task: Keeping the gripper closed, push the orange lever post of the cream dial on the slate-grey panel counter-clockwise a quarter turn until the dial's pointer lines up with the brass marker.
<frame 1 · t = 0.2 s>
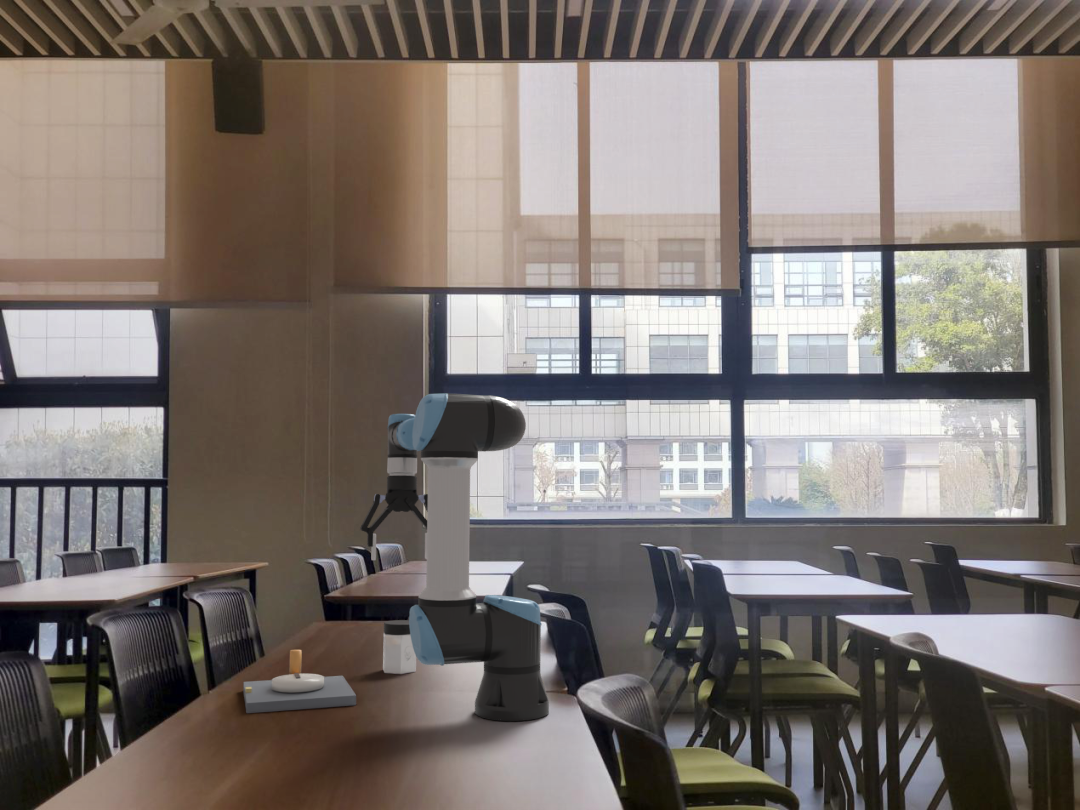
hand: (400, 559, 229), 28 cm above the table, fingers open, 13 cm apart
dial: (297, 670, 201), point 6 cm above the table, hinge at 0.0°
panel: (297, 697, 198), on the table
jar: (399, 671, 229), on the table
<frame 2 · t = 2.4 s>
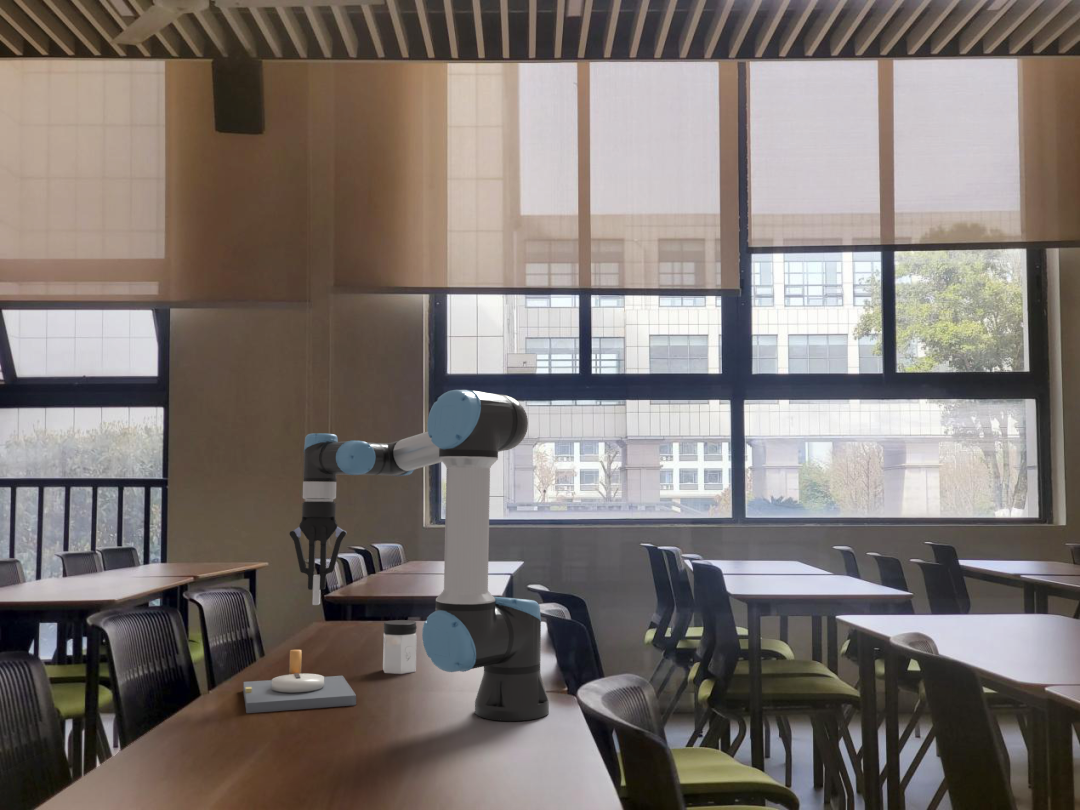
hand: (316, 604, 208), 19 cm above the table, fingers closed
nothing on the table moved.
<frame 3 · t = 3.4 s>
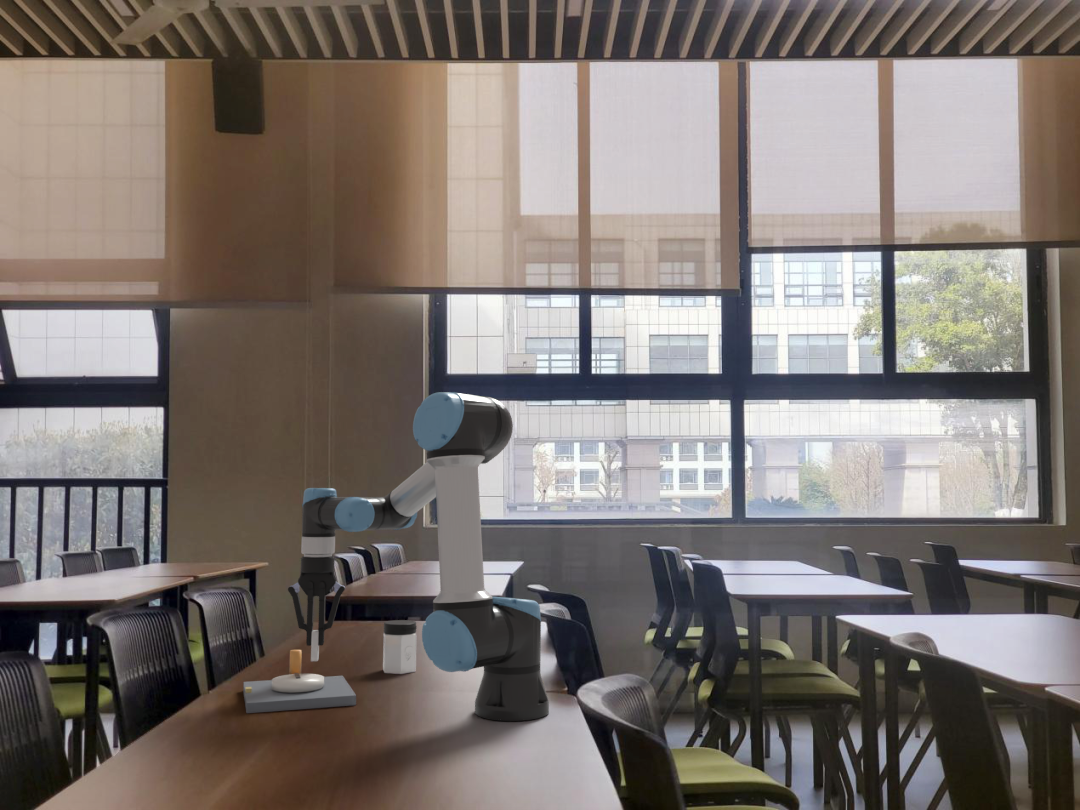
hand: (314, 660, 207), 7 cm above the table, fingers closed
nothing on the table moved.
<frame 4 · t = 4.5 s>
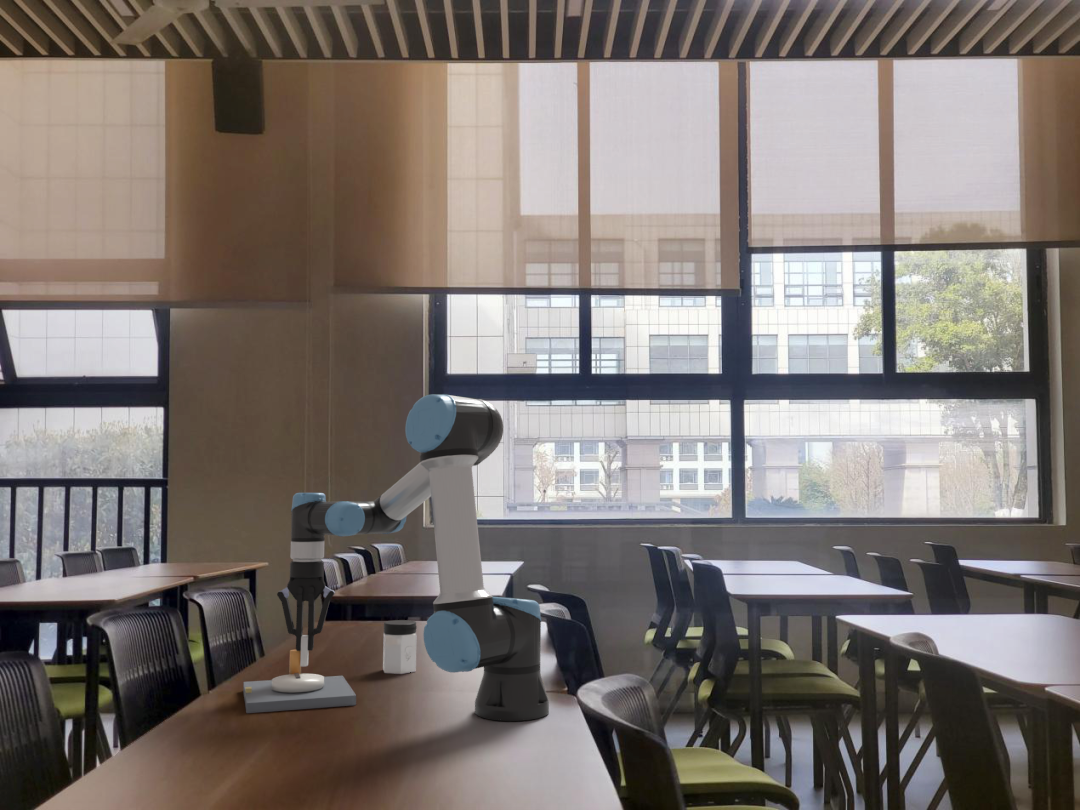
hand: (304, 665, 206), 6 cm above the table, fingers closed
dial: (297, 670, 201), point 6 cm above the table, hinge at 0.2°, touching gripper
everything else where it was.
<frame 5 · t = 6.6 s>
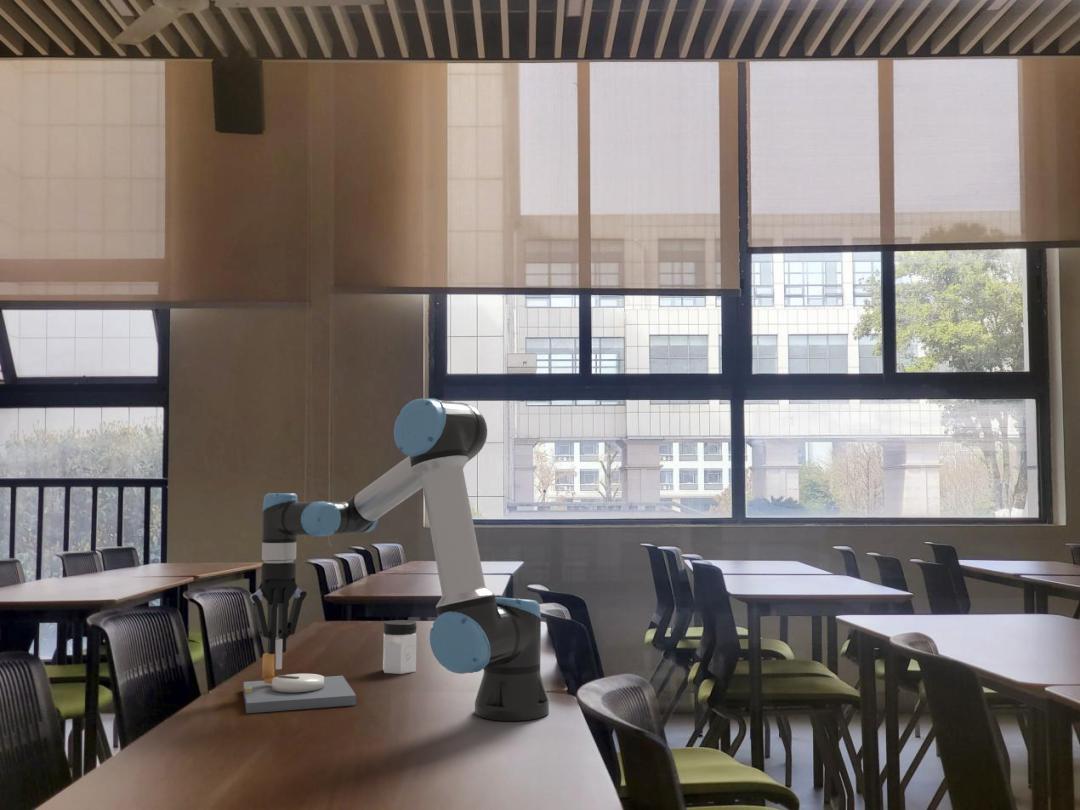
hand: (276, 668, 203), 5 cm above the table, fingers closed
dial: (291, 671, 200), point 6 cm above the table, hinge at 48.9°, touching gripper
everything else where it was.
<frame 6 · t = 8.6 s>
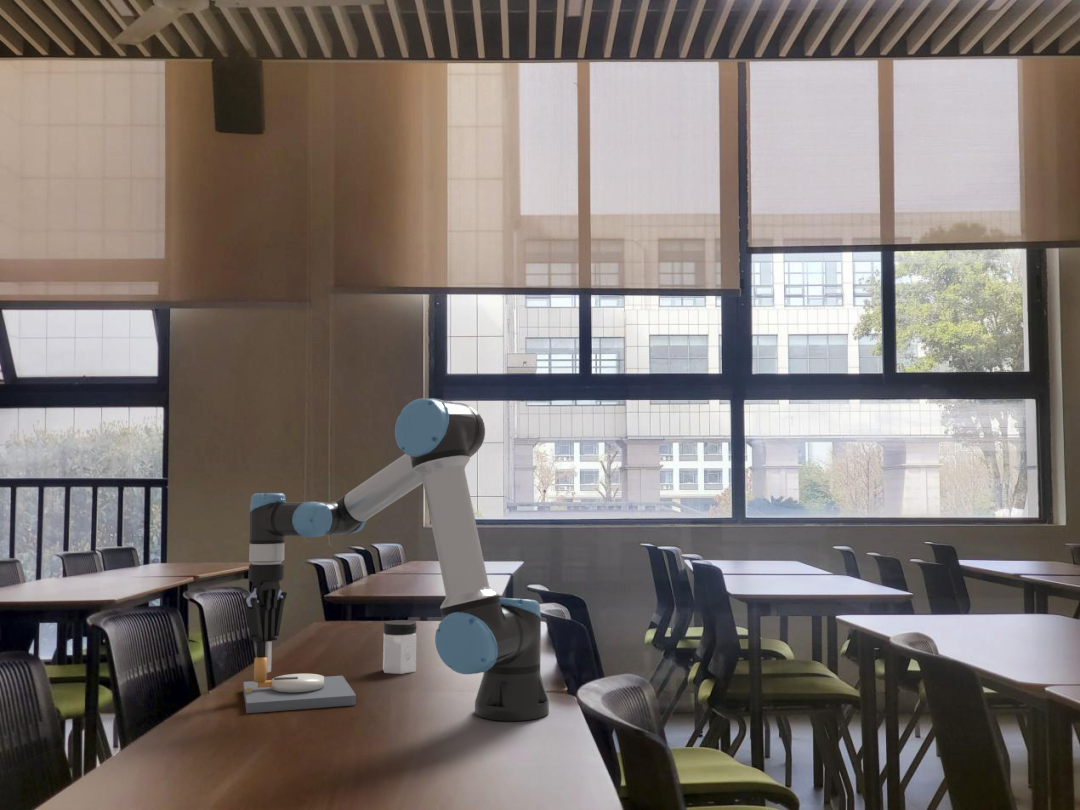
hand: (263, 671, 199), 5 cm above the table, fingers closed
dial: (289, 672, 198), point 6 cm above the table, hinge at 81.3°, touching gripper
everything else where it was.
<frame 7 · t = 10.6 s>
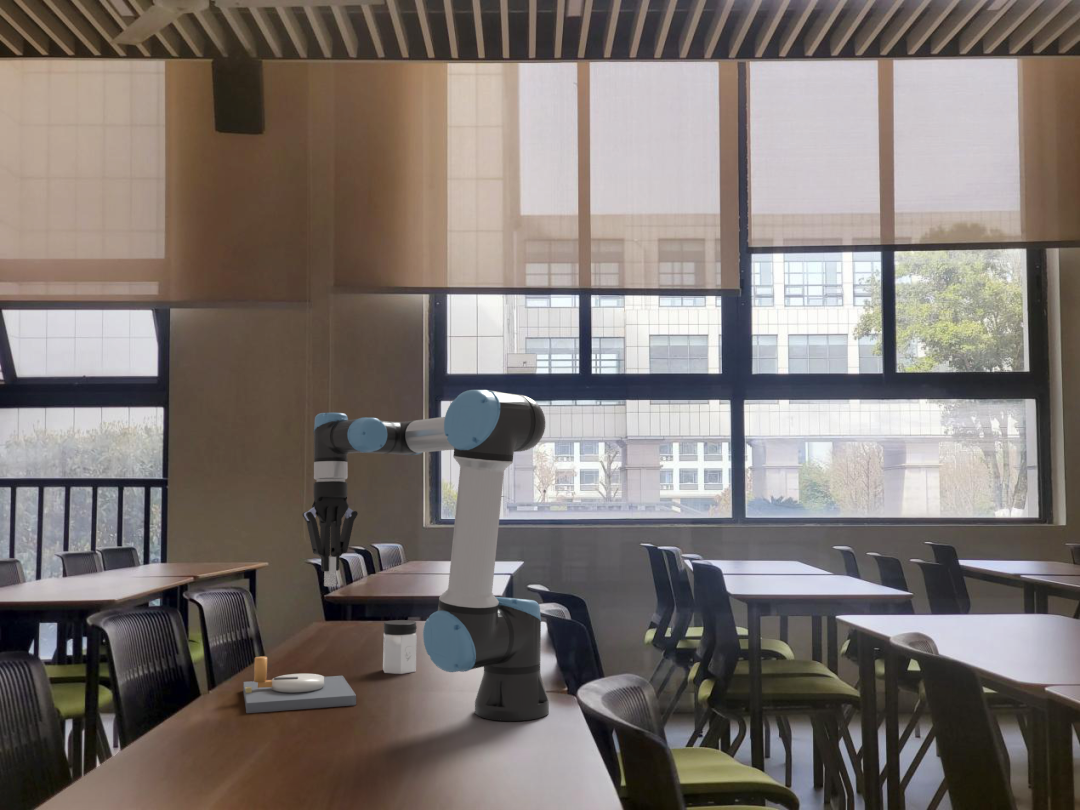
hand: (330, 585, 205), 24 cm above the table, fingers closed
dial: (289, 672, 199), point 6 cm above the table, hinge at 80.3°
everything else where it was.
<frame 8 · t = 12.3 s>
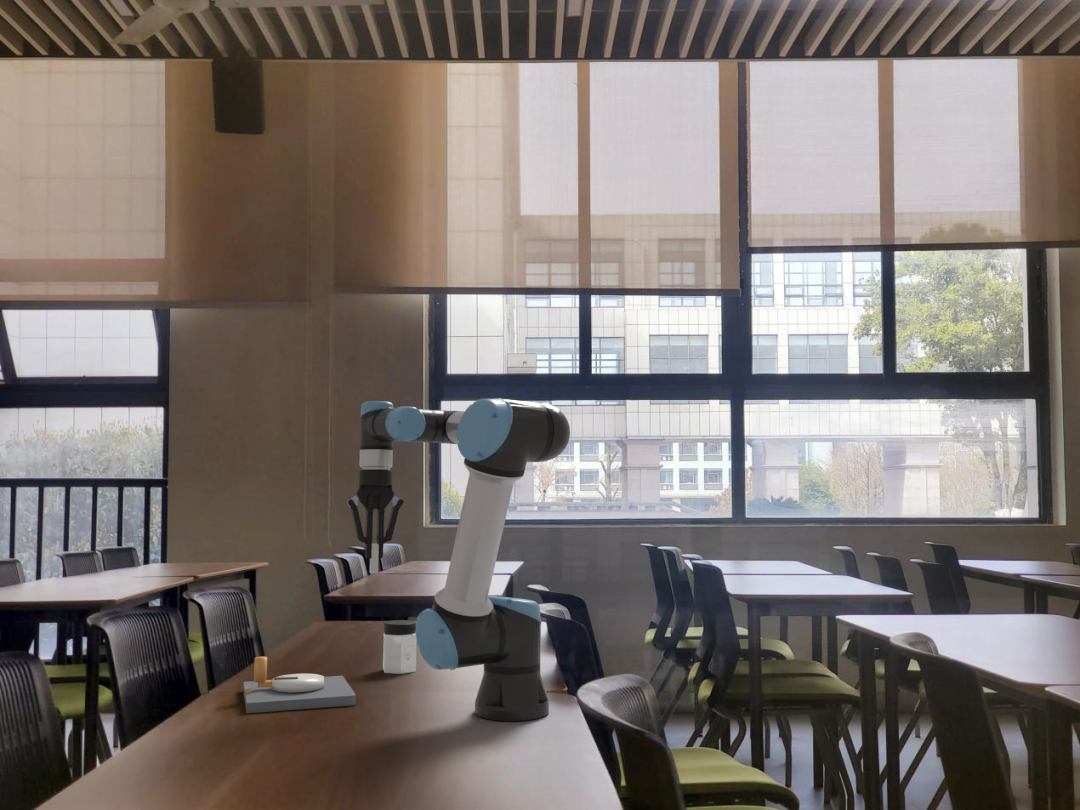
hand: (373, 573, 206), 26 cm above the table, fingers closed
nothing on the table moved.
at the end: dial at +80° (first picture: +0°); dial touching nothing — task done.
